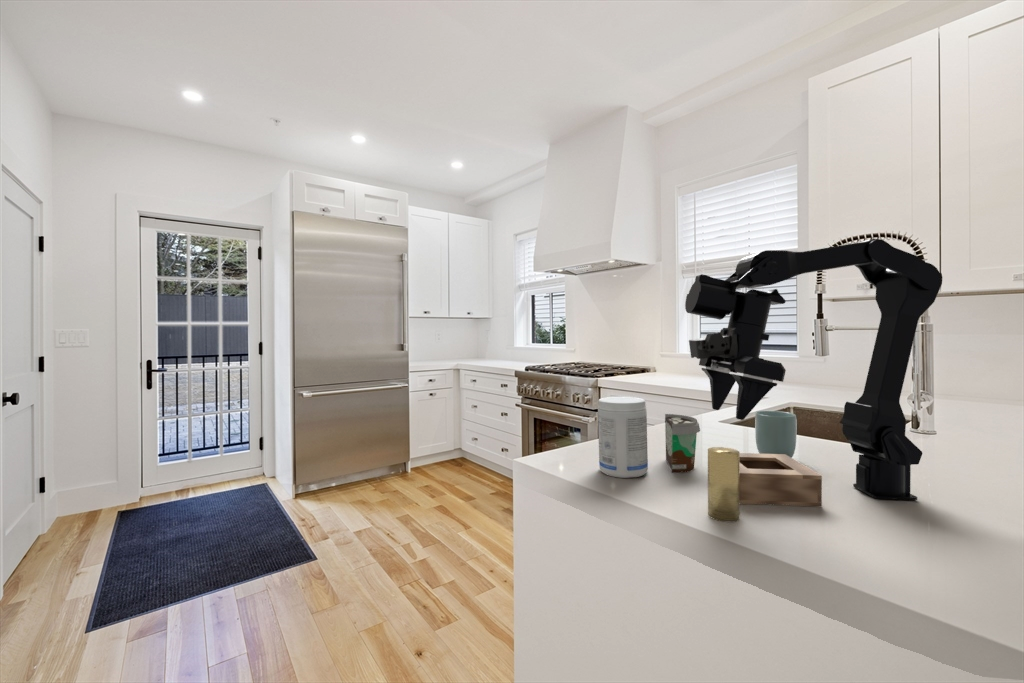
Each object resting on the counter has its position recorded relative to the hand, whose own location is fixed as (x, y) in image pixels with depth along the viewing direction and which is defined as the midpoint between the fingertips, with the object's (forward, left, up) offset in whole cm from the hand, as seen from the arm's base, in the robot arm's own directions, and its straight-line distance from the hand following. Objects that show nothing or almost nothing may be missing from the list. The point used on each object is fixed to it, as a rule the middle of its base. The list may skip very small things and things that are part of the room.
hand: (726, 414), depth 79 cm
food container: (+3, -16, -14) cm, 22 cm away
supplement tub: (+16, -11, -14) cm, 24 cm away
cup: (-18, -24, -14) cm, 33 cm away
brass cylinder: (+3, +10, -14) cm, 17 cm away
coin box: (-7, -2, -14) cm, 16 cm away
